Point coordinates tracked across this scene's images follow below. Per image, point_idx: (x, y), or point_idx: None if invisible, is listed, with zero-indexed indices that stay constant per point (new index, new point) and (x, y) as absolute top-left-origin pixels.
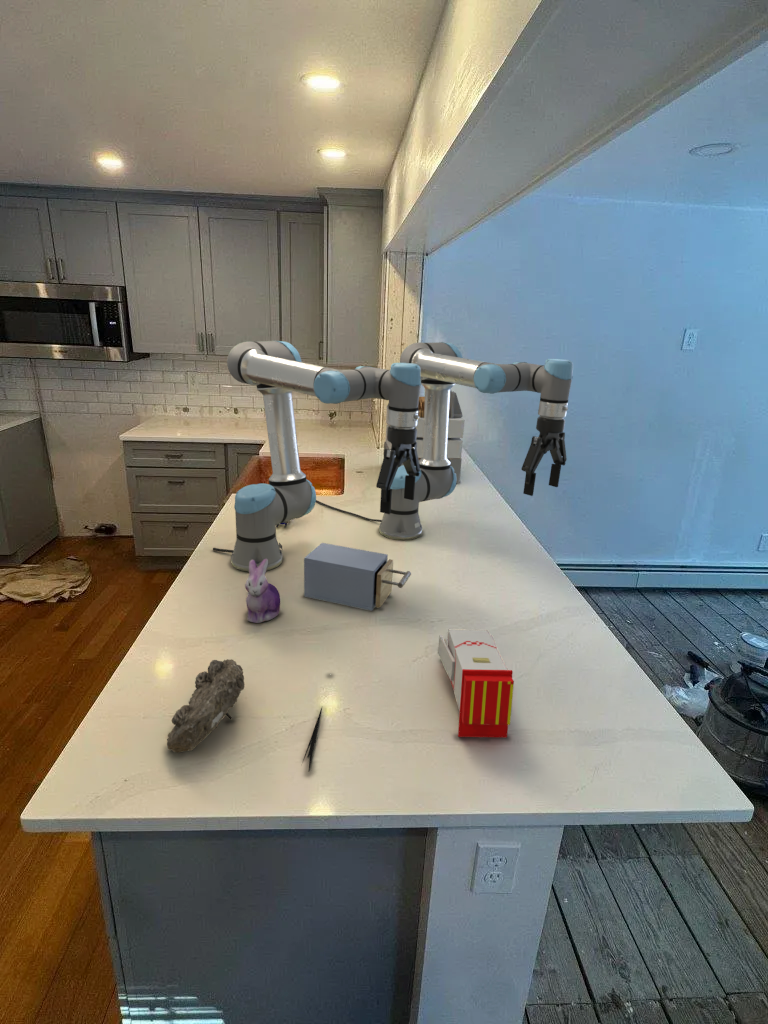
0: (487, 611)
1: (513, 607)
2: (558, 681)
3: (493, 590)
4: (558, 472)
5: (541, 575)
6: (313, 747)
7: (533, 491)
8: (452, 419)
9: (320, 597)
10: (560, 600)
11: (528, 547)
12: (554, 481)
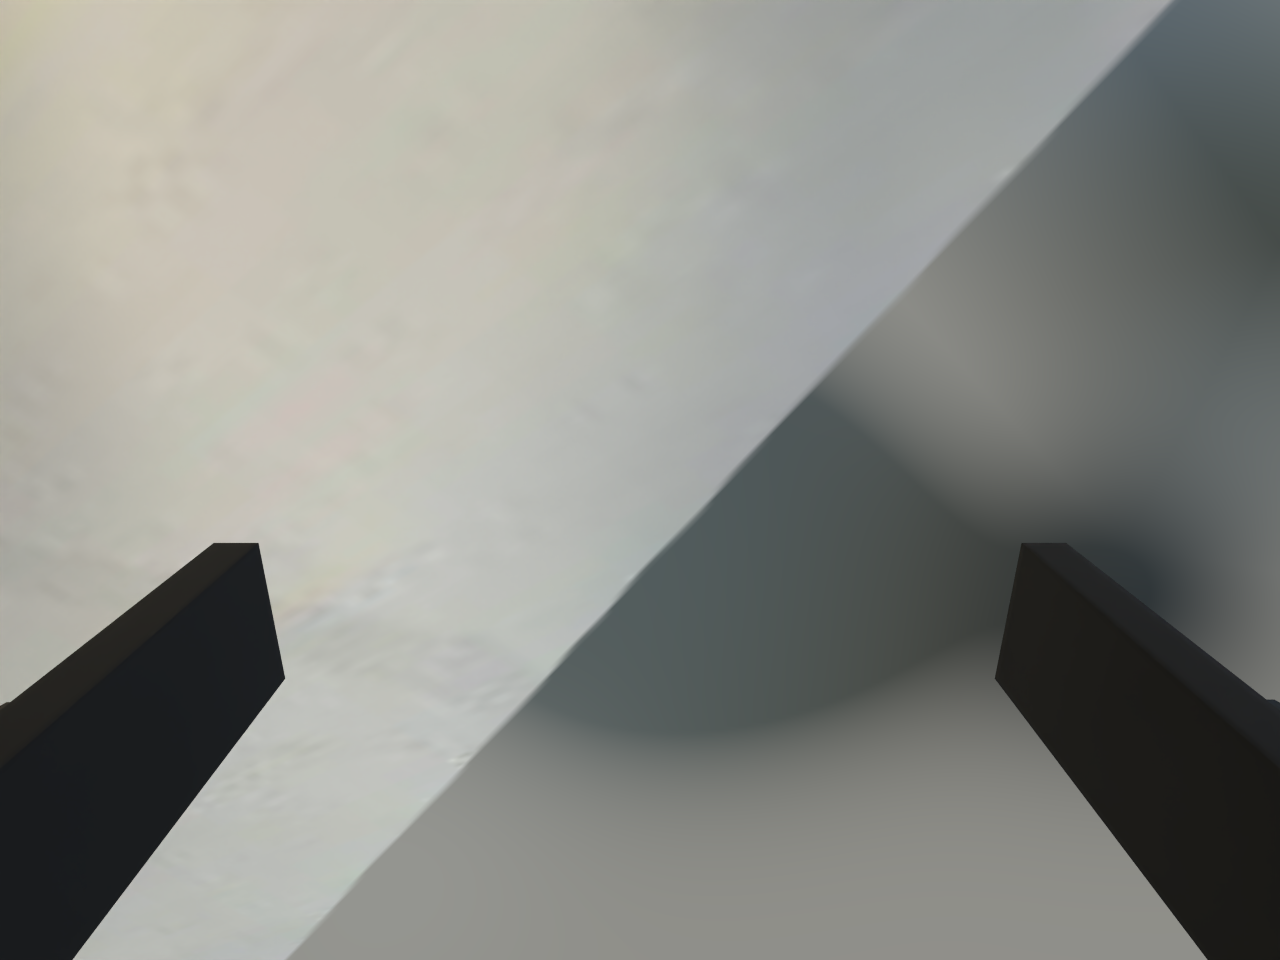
0: (120, 442)
1: (264, 498)
2: None
3: (309, 329)
4: (1166, 886)
5: (689, 398)
6: None
7: (248, 722)
8: None
9: None
10: (516, 597)
11: (1037, 89)
12: (1049, 685)
